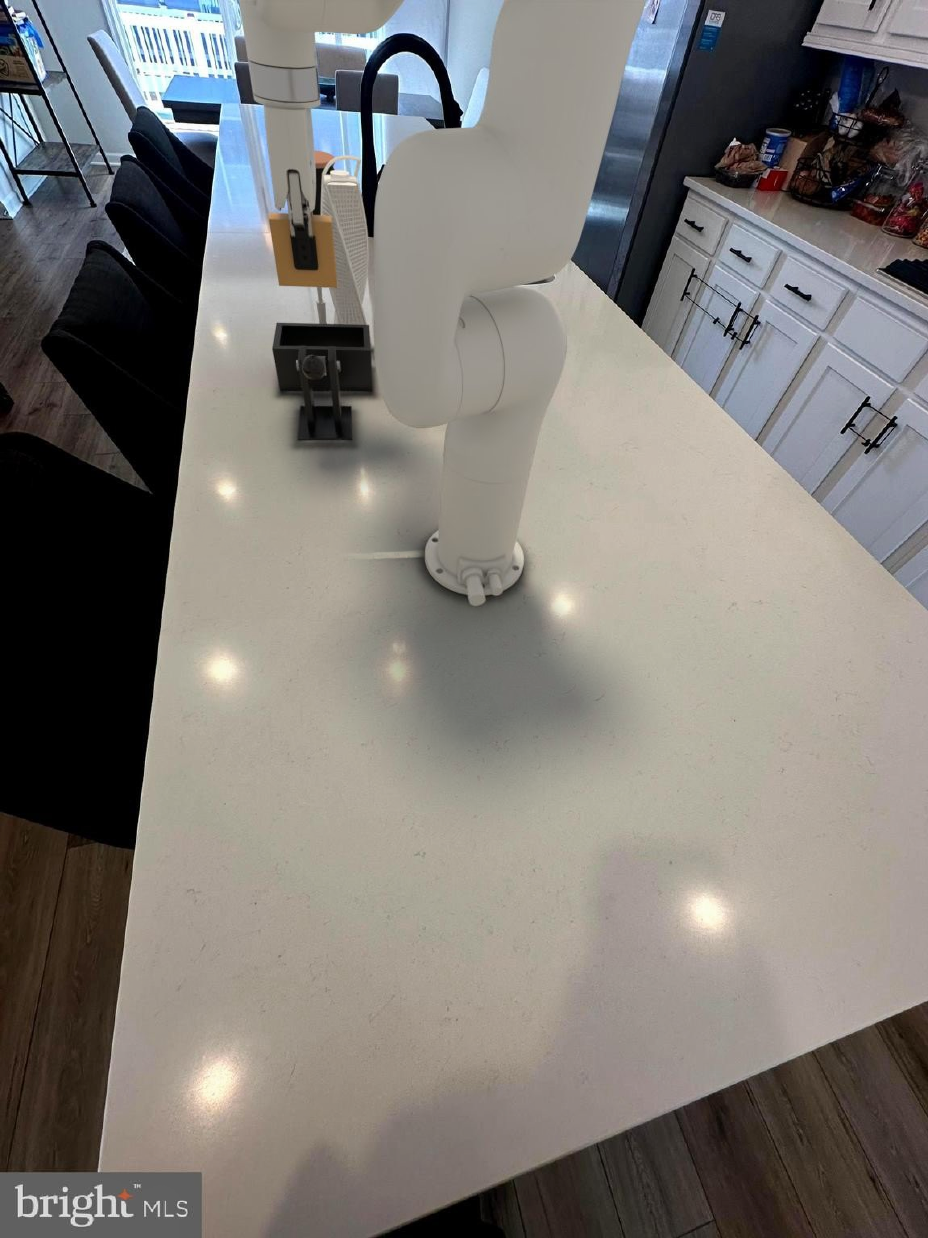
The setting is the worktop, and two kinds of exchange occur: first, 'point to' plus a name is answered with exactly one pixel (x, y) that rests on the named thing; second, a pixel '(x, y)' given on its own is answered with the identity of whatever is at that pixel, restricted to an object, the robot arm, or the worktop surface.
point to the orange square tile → (285, 256)
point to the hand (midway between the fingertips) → (306, 263)
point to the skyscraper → (346, 244)
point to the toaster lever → (315, 367)
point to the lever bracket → (323, 418)
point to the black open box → (324, 354)
